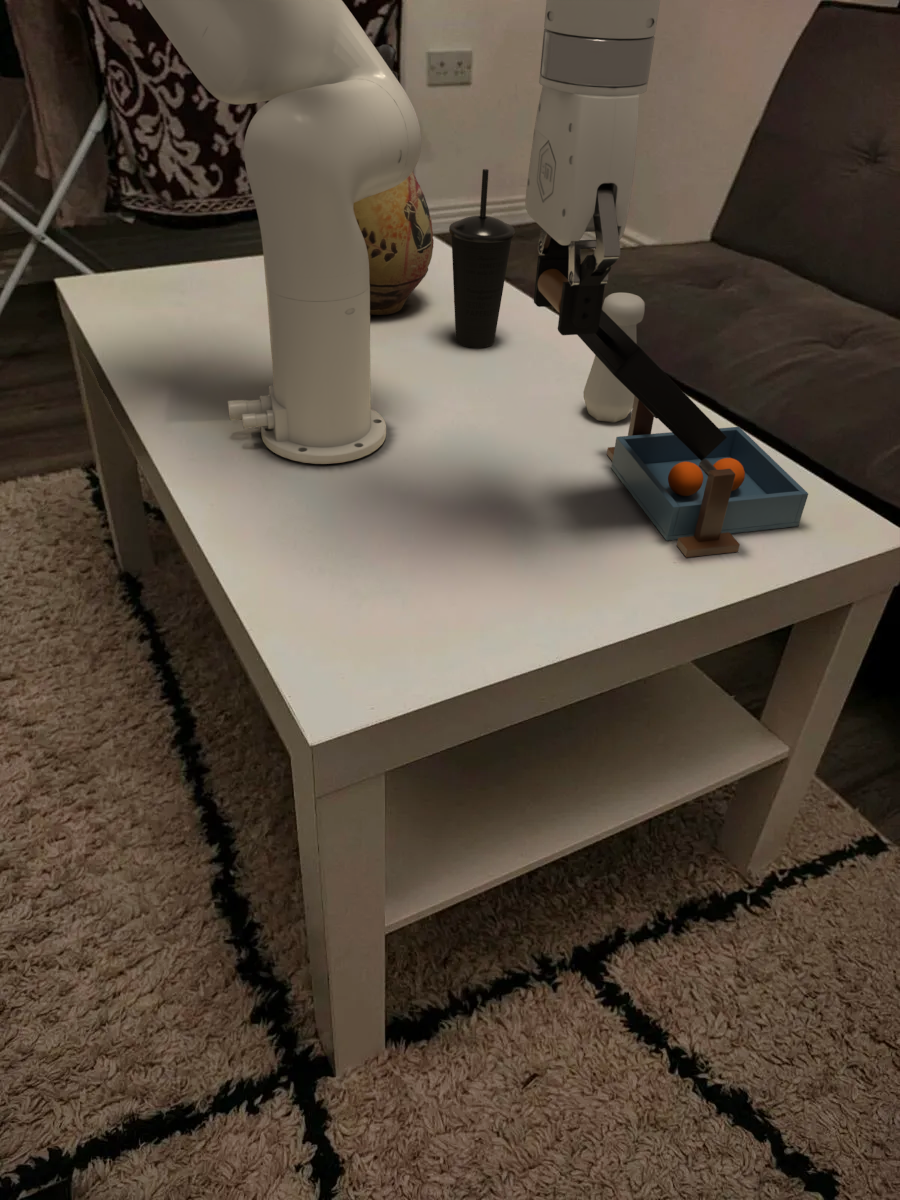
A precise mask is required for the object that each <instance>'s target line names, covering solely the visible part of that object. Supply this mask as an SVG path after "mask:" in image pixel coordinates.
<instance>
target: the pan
mask: <svg viewBox="0 0 900 1200" xmlns="http://www.w3.org/2000/svg"><path fill="white" fill-rule="evenodd" d="M563 282H569V280H568V279H567V278H566V277H565V276H564V275H563V274H562V273H561V272H560V271H558V270H557V269H548V270H546V271H544V272H543V273H542V274H541V275H540V277H539V279H538V289H539V291H540V292H541V293H542V295H543V296H544V297H545V298H546V299H547V300H548V301H549V302H550V303H551V305H552V306H551V307H553V308H554V309H555V310H556V312H557V313H560V305H561V296H562V287H563ZM577 336H578V337H579V339H580V340H581V341H582V342H583V343H584V345H586V347H587V348H589V350H590V351H591V352H592V353H593V354H594V356H595V355H596V356H597V357H598V358H599V360H600V361H601V362H602V363H603V364H604V365H605V366H606V367H607V368H608V370H609V371H610V372H611V373H612V374H613V375H614V376H615V377H616V378H617V379H618V380H619V381H620V382H621V383H622V384H623V385H624V386H625V387H626V388H627V389H628V390H629V391H630V392H631V393H632V394H633V395H634V396H635V397H636V398H637V399H639V400H640V401H641V402H642V403H643V404H644V405H645V406H646V407H647V408H648V409H649V410H650V411H651V412H652V413H653V414H654V415H655V416H656V417H657V418H656V419H658V420H659V421H660V422H661V423H662V425H664V426H665V427H666V428H667V429H668V430H669V431H670V432H672V433H673V434H674V435H675V436H676V437H677V438H678V439H679V440H680V441H681V442H683V443H684V444H685V445H686V446H687V447H688V448H689V449H690V450H691V451H692V452H693V453H694V454H695V455H696V456H697V457H698V458H699V459H700V460H701V461H702V460H703V459H704V458H706V457H707V456H708V455H709V454H710V453H711V452H712V451H713V450H714V449H715V448H716V447H717V446H718V445H719V444H720V443H722V442H723V441H724V440H725V439H726V438H727V437H726V436H725V435H724V433H723V432H722V431H721V430H720V429H719V427H718V426H717V425H716V424H715V423H714V422H713V421H712V419H710V418H709V417H708V415H706V414H705V413H704V412H703V410H701V409H700V408H699V407H698V405H697V404H696V403H694V401H693V400H692V399H691V398H690V397H689V396H688V395H687V394H686V393H685V392H684V391H683V390H682V389H681V388H680V387H679V386H678V385H677V384H676V383H675V382H674V380H672V379H671V377H670V376H669V375H667V373H665V371H664V370H663V369H662V368H661V367H660V366H659V365H658V364H657V363H656V362H655V361H654V360H653V359H652V358H651V357H650V356H649V355H648V354H647V353H646V352H645V351H644V349H642V348H641V347H640V346H639V344H636V343H635V342H634V341H633V340H632V339H631V338H630V337H629V336H628V335H627V334H626V333H625V332H624V331H623V330H622V329H621V328H620V327H619V326H618V325H617V324H616V323H615V322H614V321H613V320H612V319H611V318H610V317H609V316H608V315H607V314H606V313H605V312H604V311H603V310H602V309H601V316H600V323H599V329H598V331H597V332H596V333H594V334H579V335H577Z"/></svg>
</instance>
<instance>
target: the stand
mask: <svg viewBox="0 0 900 1200" xmlns="http://www.w3.org/2000/svg"><path fill="white" fill-rule="evenodd" d="M630 414H631V415H630V421H629V426H628V433H627V436H632V435H644V434H652V430H653V425H654V418H655V419H658V418H657V417H656V416H655V415H654V414H653V413H652V412H651V411H650V410H649V409H648V408H647V407H646V406H645V405H644V404H643V403H642V402H641V401H640V400H639V399H637V398H636V397H634V403H633V408H632V410H631V413H630ZM614 449H615V446H611V447H609V446H608V447H607V449H606V455H607V457H608V458H609V459H610V460H611V462H612V461H613V455H614ZM699 467H700V468H701V469H702V470H703V471H704V472H705V473H706V475H707V476H708V478H707V482H706V487H705V491H704V495H703V500H702V504H701V508H700V512H699V517H698V521H697V525H696V530H695V534H694V536H691V537H682V538H678V539H677V541H676V546H677V548H678V549H679V550H680V552H681V553H682V554H683V556H685V558H694V557H702V556H703V557H704V556H711V555H720V554H729V553H737V552H739V549H740V542H738V541H737V539H736V538H735V537H734V536H733V534H730V533H729V532H728V533H721V530H722V526H723V522H724V518H725V514H726V510H727V506H728V502H729V498H730V494H731V490H732V486H733V482H734V478H735V473H734V472H733V471H732V470H731V469H721V470H717V469H716V468H715V467H714V466H713V465H712V464H711V463H710V462H709V461H708V460H707V459H704V460H702V461H701V462H700V464H699Z"/></svg>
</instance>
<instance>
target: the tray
mask: <svg viewBox="0 0 900 1200" xmlns="http://www.w3.org/2000/svg"><path fill="white" fill-rule="evenodd" d="M718 428H719V427H718ZM719 429H720V430H721V431H722V432H723V433H724V435H725V436H726V437H727V438H726V439H725V440H724V441H723V442H722V443H720V444H719V445H718V446H717V447H716V448H715V449H714V450H713V451H712V452H711V453H710V454H709V455H708V456H707V457H706V458H704V459H707V460H708V461H709V462H710V463H711V464H712V465H714V464H715V463H716V462H717V461H718V460H720V459H723V458H733V459H735V460H737V461H739V462H740V463H741V464H742V466H743V468H744V471H745V478H744V481H743V483H742V484H741V486H740V487H739V488H737V489H736V490H734V491H731V494H730V498H729V502H728V506H727V510H726V514H725V518H724V522H723V526H722V530H721V533H728V532H729V533H730V534H731V535H733V534H740V533H749V532H757V531H758V532H759V531H766V530H775V529H776V530H777V529H785V528H794V527H795V528H796V527H799V526H800V522H801V520H802V516H803V513H804V509H805V506H806V502H807V500H808V496H809V492H808V491H807V490H805V489H804V488H803V487H802V486H801V484H799V483H798V482H797V481H796V480H795V479H794V478H793V477H792V476H791V475H790V474H789V473H788V472H787V471H786V470H785V469H784V468H783V467H781V466H780V465H779V464H778V463H777V462H776V461H775V460H774V459H773V458H772V457H771V456H770V455H769V453H768V452H766V451H765V450H764V449H763V448H762V447H761V446H759V444H758V443H757V442H756V441H754V440H753V438H752V437H750V435H748V434H747V433H746V432H745V431H744V430H743V429H742V428H741V427H740V426H732V427H731V426H730V427H720V428H719ZM614 447H615V449H614V455H613V461H612V460H611V470H612V471H613V472H614V474H615V475H616V477H617V478H618V479H619V481H620V482H621V483H622V484H623V486H624V487H625V488H626V490H627V491H628V492H629V494H630V495H631V497H632V498H633V499H634V500H635V502H636V503H637V504H638V505H639V507H640V508H641V510H643V512H644V514H645V515H646V516H647V517H648V518H649V520H650V521H651V522H652V524H653V525H654V527H655V528H656V529H657V530H658V532H659V533H660V534H661V536H662V537H663V538H664V540H665V541H676V540H677V541H678V538H682V537H691V536H694V534H695V530H696V525H697V521H698V517H699V512H700V508H701V504H702V500H703V495H704V491H705V487H706V482H707V478H708V476H707V475H706V473H705V472H704V471H703V470H702V469H701V468H700V467H699V464H700V462H701V460H700V459H699V458H698V457H697V456H696V455H695V454H694V453H693V452H692V451H691V450H690V449H689V448H688V447H687V446H686V445H685V444H684V443H683V442H681V441H680V440H679V439H678V438H677V437H676V436H675V435H674V434H673V433H672V432H671V431H670V432H658V433H651V434H644V435H632V436H628V435H622V436H616V438H615V444H614ZM704 459H703V460H704ZM681 462H692V463H694V464H696V465H697V466H698V467H699V468H700V469H701V471H702V473H703V483H702V486H701V488H700V489H699V490H698V491H697V492H696V493H694V494H692V495H689V496H681V495H678V494H676V493H675V492H673V491H672V489H671V488H670V486H669V483H668V476H669V473H670V471H671V469H672V468H673V467H674V466H675V465H676V464H678V463H681Z"/></svg>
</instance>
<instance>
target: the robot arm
mask: <svg viewBox="0 0 900 1200" xmlns="http://www.w3.org/2000/svg"><path fill="white" fill-rule="evenodd" d="M141 2H142V4H143V5H144V7H145V8H146V9H147V10H148V12H149V14H150V15H151V16H152V19H154V21H155V22H156V23H157V24H158V26H159V28H160V29H161V30H162V32H163V33H164V34H165V36H166V37H167V38H168V40H169V41H170V43H171V44H172V45H173V48H175V50H176V51H177V52H178V54H179V55H180V57H181V58H182V59H183V61H184V62H185V63H186V65H187V67H189V69H190V70H191V72H192V73H193V74H194V76H195V77H196V78H197V80H198V81H199V82H200V83H201V85H202V86H203V87H204V89H206V90H207V91H208V92H209V93H210V94H211V95H212V96H213V97H214V98H215V99H217V100H219V101H220V102H223V103H225V104H230V105H249V104H257V103H262V102H263V103H264V102H266V103H265V104H264V105H262V106H261V107H260V108H259V109H258V111H256V113H255V114H254V115H253V117H252V119H251V120H250V122H249V124H248V126H247V129H246V132H245V136H244V141H243V142H244V143H243V158H244V166H245V172H246V175H247V179H248V180H247V181H248V183H249V184H248V185H249V187H250V191H251V195H252V198H253V203H254V205H255V211H256V214H257V220H258V224H259V232H260V237H261V245H262V253H263V254H262V255H263V265H264V278H265V279H264V280H265V287H266V300H267V315H268V330H269V342H270V354H271V355H270V357H271V368H272V382H273V385H268V395H260V396H259V399H251V400H246V399H236V400H235V399H234V400H227V408H228V416H229V417H228V418H229V421H242V427H243V429H254V428H259V427H260V431H261V432H260V433H261V439H262V442H263V444H264V445H265V447H266V448H267V449H269V450H270V451H271V452H273V453H275V454H276V455H278V456H280V457H282V458H285V459H288V460H291V461H294V462H299V463H303V464H314V465H327V464H328V465H329V464H340V463H346V462H352V461H355V460H358V459H362V458H364V457H367V456H369V455H371V454H372V453H374V452H375V451H377V450H379V448H380V447H381V446H382V445H383V444H384V443H385V440H386V437H387V423H386V420H385V419H384V418H383V416H382V415H381V414H380V413H379V412H378V411H376V410H374V408H372V405H371V403H372V402H371V401H372V400H371V399H372V398H371V397H372V395H371V393H372V392H371V390H372V388H371V385H372V383H371V380H372V379H371V316H370V284H369V259H368V252H367V247H366V244H365V240H364V238H363V235H362V233H361V231H360V228H359V226H358V223H357V220H356V217H355V214H354V209H353V204H354V203H355V202H357V201H360V200H361V199H363V198H366V197H369V196H372V195H375V194H378V193H381V192H383V191H386V190H389V189H391V188H393V187H395V186H397V185H399V184H400V183H402V182H403V181H404V180H405V179H407V178H408V177H409V176H410V174H411V173H412V172H413V173H414V170H415V169H416V167H417V164H418V162H419V160H420V155H421V152H422V150H421V149H422V132H421V131H422V130H421V126H420V122H419V118H418V115H417V112H416V109H415V107H414V106H413V103H412V101H411V99H410V97H409V95H408V94H407V92H406V90H405V89H404V88H403V86H402V84H401V83H400V82H399V79H398V80H397V79H396V77H395V76H394V74H393V73H392V71H391V70H390V68H389V67H388V65H387V64H386V63H385V61H384V60H383V58H382V57H381V55H380V54H379V52H378V51H377V50H376V46H375V45H374V44H373V42H372V41H371V39H370V38H369V36H368V35H367V33H366V32H365V30H364V29H363V28H362V26H361V25H360V23H359V22H358V20H357V19H356V18H355V16H354V15H353V13H352V12H351V11H350V9H349V8H348V6H347V5H346V4H345V2H344V1H343V0H141ZM660 4H661V0H546V1H545V12H544V24H543V28H544V29H543V37H542V46H541V58H540V69H539V70H540V71H539V79H538V84H539V85H540V86H541V87H542V88H541V92H540V97H539V101H538V105H537V111H536V117H535V123H534V129H533V137H532V143H531V151H530V157H529V158H530V159H529V165H528V173H527V180H526V181H527V182H526V190H525V200H524V205H525V210H526V212H527V214H528V215H529V217H530V218H531V219H532V220H533V221H534V222H535V223H536V224H537V225H538V226H539V227H540V232H539V238H538V242H537V251H538V254H539V255H537V262H536V273H535V284H534V293H533V303H534V304H535V306H536V307H539V308H543V307H553V306H552V305H551V303H550V302H549V301H548V300H547V299H546V298H545V297H544V296H543V295H542V293H541V292H540V291H539V289H538V279H539V277H540V275H541V274H542V273H543V272H544V271H546V270H548V269H557V270H558V271H560V272H561V273H562V274H563V275H564V276H565V277H566V278H567V279H568V280H569V282H563V287H562V296H561V305H560V313H559V312H558V313H559V314H558V321H557V322H558V323H557V331H558V333H559V334H560V335H561V336H574V335H575V336H578V335H579V334H594V333H596V332H597V331H598V329H599V323H600V316H601V309H602V307H603V303H604V294H605V288H606V287H605V286H607V285H608V283H609V274H610V271H611V270H612V267H613V265H614V264H616V263H617V261H618V260H619V259H620V257H621V243H620V240H621V239H622V238H623V237H624V234H625V230H626V226H627V222H628V217H629V212H630V205H631V199H632V198H631V197H632V191H633V182H634V173H635V165H636V164H635V163H636V155H637V154H636V153H637V143H638V128H639V112H640V95H642V94H645V93H646V92H647V90H648V84H649V79H650V72H651V63H652V57H653V50H654V44H655V38H656V37H655V35H656V31H657V25H658V19H659V11H660ZM267 101H268V102H267ZM590 232H591V233H594V234H595V239H582V238H583V236H584V234H585V233H590ZM588 249H593V252H592V254H587V255H586V256H585V258H584V259H583V261H582V250H588Z"/></svg>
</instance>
